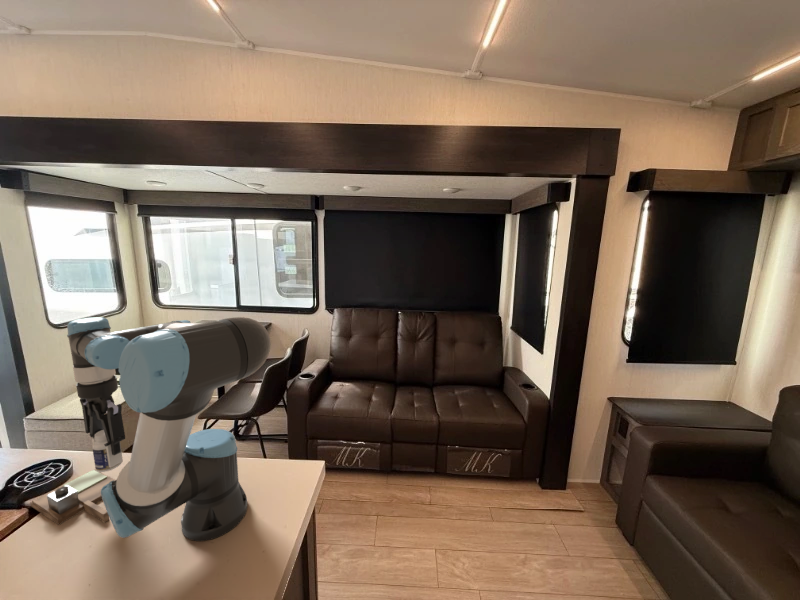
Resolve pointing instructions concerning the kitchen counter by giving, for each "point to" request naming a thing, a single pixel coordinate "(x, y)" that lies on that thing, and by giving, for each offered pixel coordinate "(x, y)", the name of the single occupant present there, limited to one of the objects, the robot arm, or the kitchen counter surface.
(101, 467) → the pill bottle
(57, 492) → the latch bolt
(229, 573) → the kitchen counter surface
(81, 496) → the station
